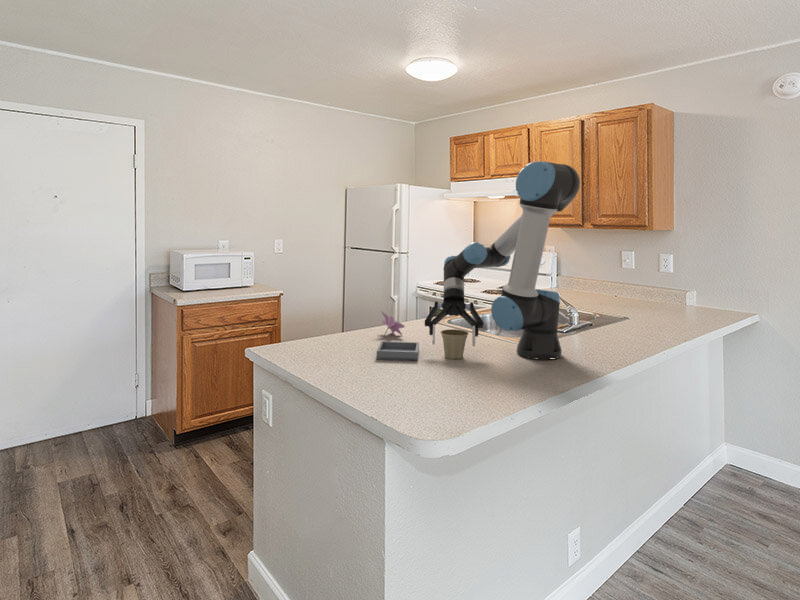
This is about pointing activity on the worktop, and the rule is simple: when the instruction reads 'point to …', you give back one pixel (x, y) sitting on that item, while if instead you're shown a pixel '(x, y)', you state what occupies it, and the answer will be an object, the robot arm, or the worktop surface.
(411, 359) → the tray
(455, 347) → the flower pot
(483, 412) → the worktop surface
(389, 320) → the lily
